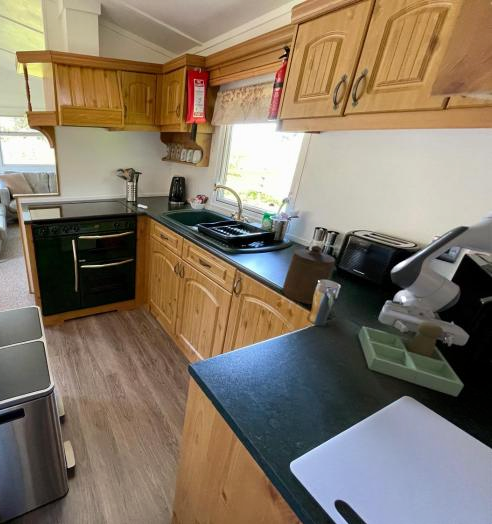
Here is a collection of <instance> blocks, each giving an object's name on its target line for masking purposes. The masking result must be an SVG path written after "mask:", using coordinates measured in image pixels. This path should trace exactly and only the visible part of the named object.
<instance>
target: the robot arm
mask: <svg viewBox="0 0 492 524" xmlns="http://www.w3.org/2000/svg"><path fill="white" fill-rule="evenodd" d="M452 248H460V249H465V250H469V251H473V252H474V251H475V252H479V253H486V254H487V253H488V254H492V209H490V211H489V212H487V213H486V214H485V215H484V216H482V218H481V219H479V220H478V221H477V222H475V223H473V224H471V225H469V226H467V225H465V226H464V225H460V226H457V227H455V228H453V229H450V230H448V231H447V232H445V233H443V234H441V236H439V237H438V238H435V240H433V241H431V242H430V243H429V244H427V245H426V246H424V247H423V248H421V249H420V250H419V251H417V252H416V253H414V254H412V255H411V256H409V257H408V258H406V259H405V260H403V261H401V262H399V263H398V264H396V265H395V266H394V267H393V268H392V269H391V270H390V278H391V282H392V283H393V284H395V285H396V286H398V287H400V288H401V289H402V290H399V291H398V292H396V294H394V296H393V300H386V301H385V303H384V305H383V306H382V308H381V310H380V313H379V316H378V322H379V323H381V324H384V325H387V326H391V327H395V328H396V329H398V330H399V332H400V333H403V334H406V335H407V334H408V333H409V332H412V333H415V334H417V332H418V329H417V328H418V325H419V324H420V323H422V322H430V323H433V324H436V325H438V326H440V327H441V328H442V330H443V334H442V336H441V337H440V338H437V340H440V341H441V344H442V345H444V346H447V347H451V346H452V345H457V346H461V347H462V346H465V345H466V344H467V342H468V341H469V338H470V335H469V334H468V333H467V332H466V330H464V329H463V328H462V327H460V326H458V325H457V324H455V323H452V322H448V321H444V320H441V319H436V316H435V314H438V313H442V312H444V311H447V310H449V309H450V308H452V307H454V306H455V305H456V304H457V303H458V301H459V300H460V296H461V288H460V285H458V284H456V283H454V282H453V281H452V280H450V279H449V278H447V277H445V276H443V275H442V274H440V273H438V272H437V271H436V270H434V269H433V268H431V267H429V263H430V262H432V261H434V260H435V259H437V258H438V257H440V256H441V255H442V254H444V253H445V252H447V251H448V250H450V249H452Z"/></svg>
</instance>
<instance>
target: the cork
mask: <svg viewBox="0 0 492 524" xmlns="http://www.w3.org/2000/svg"><path fill="white" fill-rule="evenodd" d="M417 329H418V332H417V333H415V335H414V336H413V337H412V338H411V339H412V340H411V341H410V343H409V344H408V345H407V347H406V350H407V351H408V352H411V353H415V354H418V355H422V356H425V357H429V358H431V356H432V353H433V350H434V347H435V346H436V344H437V340H438V339H437V338H440V337H441V336H442V334H443V330H442V328H441V327H440V326H438V325H436V324H433V323H430V322H422V323H420V324H419V325H418V328H417Z"/></svg>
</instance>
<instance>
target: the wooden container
mask: <svg viewBox="0 0 492 524" xmlns="http://www.w3.org/2000/svg"><path fill="white" fill-rule="evenodd" d="M310 248H311V249H303V248H302V249H301V248H299V249H295V250H294V251H293V254H292V257H291V261H290V264H289V267H288V269H287V273H286V276H285V279H284V283H283V286H282V293H283V295H284V296H286V297H287V298H289V299H290V300H293V301H295V302H298V303H302V304H307V305H312V301H313V294H314V291H315V288H316V286H317V284H318V281H319V280H321V279H325V280H329V279H330V276H331V273H332V269H333V268H334V266H335V263H336V259H335V258H334V257H333V256H332V255H329V254H327V253H324V252H321V251H322V248H321V246H319V245H312V246H311V247H310Z"/></svg>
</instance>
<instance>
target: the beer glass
mask: <svg viewBox="0 0 492 524" xmlns="http://www.w3.org/2000/svg"><path fill="white" fill-rule="evenodd" d="M341 289H342V285H341V284H340V283H338V282H336V281H334V280H325V279H321V280H319V281H318V284H317V286H316V288H315V291H314V294H313V301H312V304H311V308H310V312H309V314H308V315H307V317H306V320H307V321H308V322H309V323H310V324H313V325H315V326H318V327H325V326H327V323H328V317H329V314H330V313H331V311H332V310H333V308H334V307H335V305H336V303H337V301H338V299H339V295H340V291H341Z"/></svg>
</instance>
